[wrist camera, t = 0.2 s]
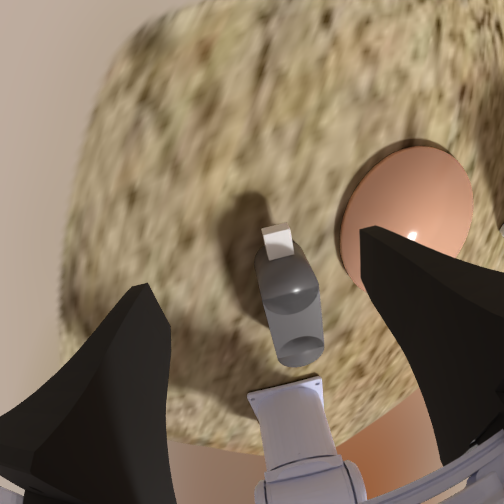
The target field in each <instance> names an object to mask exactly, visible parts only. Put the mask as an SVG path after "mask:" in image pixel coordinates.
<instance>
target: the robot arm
mask: <svg viewBox="0 0 504 504" xmlns="http://www.w3.org/2000/svg"><path fill="white" fill-rule="evenodd" d="M359 235H360V277H361V280H362V283H363V285H364V287H365V289H366V291H367V293H368V295H369V297H370V299H371V301H372V303H373V304H374V306H375V308H376V309H377V311H378V312H379V314H380V315H381V317H382V318H383V320H384V321H385V323H386V325H387V326H388V328H389V329H390V331H391V332H392V334H393V336H394V337H395V339H396V340H397V342H398V344H399V345H400V347H401V348H402V350H403V352H404V354H405V356H406V358H407V360H408V362H409V364H410V366H411V369H412V371H413V373H414V375H415V378H416V380H417V383H418V385H419V388H420V390H421V392H422V395H423V398H424V401H425V404H426V407H427V409H428V413H429V416H430V419H431V422H432V425H433V429H434V433H435V437H436V441H437V446H438V450H439V454H440V460H441V462H442V464H443V467H442V468H440V469H438V470H436V471H434V472H432V473H430V474H428V475H426V476H424V477H422V478H420V479H418V480H416V481H414V482H412V483H410V484H407V485H405V486H403V487H400V488H398V489H395V490H393V491H391V492H388V493H386V494H383V495H380V496H378V497H375V498H372V499H370V500H367V495H366V490H365V486H364V483H363V479H362V476H361V473H360V471H359V469H358V467H357V465H356V464H355V463H353V462H351V461H349V460H346V461H343V460H342V457H341V455H337V451H336V448H335V445H334V441H333V438H332V435H331V432H330V428H329V425H328V422H327V418H326V415H325V412H324V403H323V388H322V379H321V377H320V376H316V377H312V378H309V379H305V380H301V381H297V382H293V383H289V384H285V385H281V386H277V387H273V388H268V389H264V390H259V391H255V392H250V393H248V394H247V398H248V400H249V402H250V404H251V407H252V409H253V411H254V413H255V415H256V417H257V419H258V421H259V424H260V430H261V437H262V443H263V449H264V455H265V461H266V467H267V472H265V473H264V475H265V480H260V481H259V482H258V484H257V485H256V487H255V493H254V495H255V504H420V503H422V502H425V501H427V500H429V499H431V498H432V497H435V496H436V495H438V494H440V493H442V492H444V491H446V490H448V489H449V488H451V487H453V486H455V485H456V484H458V483H460V482H461V481H463V480H465V479H466V478H468V477H469V479H468V480H467V484H466V487H465V488H464V489H463V490H461V491H460V492H458V493H456V494H454V495H453V496H451V497H449V498H447V499H445V500H444V501H442V502H440V503H438V504H504V273H503V272H499V271H495V270H491V269H487V268H484V267H480V266H477V265H474V264H471V263H468V262H465V261H462V260H459V259H456V258H453V257H451V256H448V255H446V254H443V253H441V252H438V251H436V250H433V249H431V248H429V247H426V246H424V245H422V244H420V243H417V242H415V241H413V240H410V239H408V238H406V237H404V236H401V235H399V234H397V233H395V232H392V231H390V230H387V229H385V228H382V227H379V226H376V225H374V226H371V227H367V228H363V229H359ZM170 358H171V329H170V324H169V322H168V321H167V319H166V317H165V315H164V313H163V311H162V309H161V307H160V306H159V304H158V302H157V300H156V298H155V296H154V294H153V292H152V290H151V288H150V286H149V284H148V283H145V284H141V285H137V286H132V287H131V288H130V289H129V290H128V291H127V292H126V293H125V295H124V296H123V297H122V298H121V299H120V300H119V302H118V303H117V304H116V305H115V307H114V308H113V309H112V310H111V311H110V313H109V314H108V315H107V316H106V318H105V319H104V320H103V321H102V323H101V324H100V325H99V326H98V328H97V329H96V330H95V331H94V332H93V334H92V335H91V336H90V337H89V338H88V339H87V341H86V342H85V343H84V344H83V345H82V347H81V348H80V349H79V350H78V351H77V352H76V353H75V354H74V356H73V357H72V358H71V359H70V360H69V361H68V362H67V363H66V364H65V365H64V366H63V367H62V368H61V369H60V370H59V371H58V372H57V373H56V374H55V375H54V376H53V377H51V378H50V379H49V380H48V381H47V382H46V383H45V384H44V385H42V386H41V387H40V388H39V389H38V390H37V391H36V392H35V393H33V394H32V395H31V396H29V397H28V398H27V399H26V400H24V401H23V402H21V403H20V404H19V405H17V406H16V407H15V408H13V409H12V410H10V411H9V412H7V413H6V414H4V415H2V416H0V475H1V476H2V477H4V478H5V479H7V480H9V481H10V482H12V483H14V484H15V485H17V486H19V487H21V488H23V489H24V490H25V493H24V496H22V495H20V494H18V493H15V492H13V491H11V490H8V489H5V488H3V487H1V486H0V504H177V503H176V498H175V493H174V489H173V484H172V478H171V472H170V466H169V458H168V448H167V435H166V399H167V388H168V378H169V368H170Z"/></svg>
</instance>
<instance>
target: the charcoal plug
mask: <svg viewBox="0 0 504 504" xmlns="http://www.w3.org/2000/svg"><path fill="white" fill-rule="evenodd" d="M261 230H262V234H263V238H264V243H265V245H264V246H263V247H262V248H261V249H260V250H259V251H258V253H257V254H256V257H255V261H254V266H255V271H256V275H257V280H258V284H259V289H260V293H261V297H262V302H263V305H264V309H265V313H266V317H267V320H268V324H269V328H270V332H271V335H272V339H273V343H274V347H275V351H276V354H277V358H278V361H279V362H280V363H281V364H282V365H284V366H288V367H301V366H305V365H308V364H310V363H312V362H314V361H315V360H317V359H318V358H319V357H320V356H321V354H322V353H323V351H324V336H323V324H322V313H321V302H320V292H319V284H318V281H317V278H316V276H315V274H314V272H313V270H312V268H311V266H310V264H309V262H308V260H307V258H306V256H305V254H304V252H303V250H302V249H301V247H300V246H299V245H298V244H297V243H295V242H293V241H292V237H291V231H290V228H289V226H288V224H287V222H286V223H282V224H278V225H273V226H269V227H265V228H261Z"/></svg>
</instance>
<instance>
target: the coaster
mask: <svg viewBox="0 0 504 504" xmlns="http://www.w3.org/2000/svg"><path fill="white" fill-rule="evenodd" d="M472 215H473V193H472V187H471V183H470V180H469V178H468V175H467V173H466V172H465V170H464V168H463V167H462V165H461V164H460V163H459V162H458V161H457V160H456V159H455V158H454V157H452V156H451V155H449V154H448V153H446V152H444V151H442V150H439V149H436V148H433V147H428V146H413V147H409V148H404V149H402V150H399V151H397V152H394V153H393V154H391V155H389V156H387V157H385V158H384V159H383V160H382V161H380V162H379V163H378V164H376V165H375V166H374V167H373V168H372V169H371V170H370V171H369V172H368V173H367V174H366V176H365V177H364V178H363V179H362V180H361V182H360V183H359V185H358V186H357V188H356V189H355V191H354V192H353V194H352V196H351V198H350V200H349V202H348V204H347V207H346V210H345V212H344V215H343V220H342V224H341V229H340V253H341V258H342V261H343V265H344V267H345V269H346V271H347V273H348V274H349V276H350V277H351V279H352V280H353V282H354V283H355V284H356V285H357V286H358V287H359V288H360V289H362V290H363V291H365V292H367V291H366V289H365V287H364V285H363V283H362V280H361V277H360V235H359V229H363V228H367V227H371V226H374V225H376V226H379V227H382V228H385V229H387V230H390V231H392V232H395V233H397V234H399V235H401V236H404V237H406V238H408V239H410V240H413V241H415V242H417V243H420V244H422V245H424V246H426V247H429V248H431V249H433V250H436V251H438V252H441V253H443V254H446V255H448V256H451V257H453V258H456V256H457V255H458V253H459V251H460V250H461V248H462V246H463V244H464V242H465V240H466V237H467V235H468V232H469V229H470V225H471V221H472Z"/></svg>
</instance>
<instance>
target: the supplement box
mask: <svg viewBox="0 0 504 504" xmlns="http://www.w3.org/2000/svg"><path fill="white" fill-rule="evenodd" d="M499 231H500V233H501V234H502V236H503V237H504V224H503V225H502V227H501V228H500V230H499Z"/></svg>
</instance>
